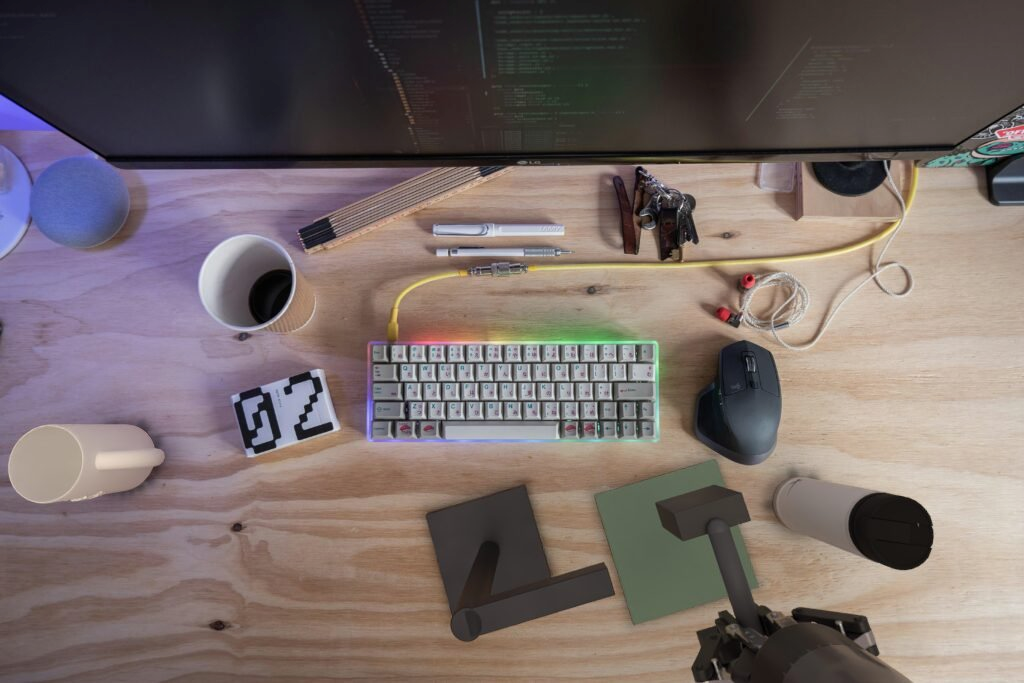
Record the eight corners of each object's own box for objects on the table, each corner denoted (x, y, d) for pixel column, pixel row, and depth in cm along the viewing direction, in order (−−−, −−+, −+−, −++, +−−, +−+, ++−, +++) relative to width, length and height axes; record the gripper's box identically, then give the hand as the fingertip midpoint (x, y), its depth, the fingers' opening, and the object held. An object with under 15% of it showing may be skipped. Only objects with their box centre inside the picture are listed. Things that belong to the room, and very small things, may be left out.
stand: (595, 573, 70) (637, 665, 43) (454, 615, 69) (408, 734, 43) (565, 472, 71) (587, 500, 45) (427, 512, 71) (366, 565, 44)
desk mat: (758, 586, 69) (759, 587, 68) (633, 624, 69) (633, 625, 68) (715, 459, 71) (716, 459, 71) (594, 495, 71) (594, 495, 70)
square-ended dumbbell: (766, 638, 55) (810, 676, 47) (704, 658, 55) (737, 699, 46) (714, 484, 57) (748, 494, 49) (654, 502, 57) (677, 515, 48)
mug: (187, 490, 72) (120, 503, 60) (89, 494, 72) (3, 507, 61) (189, 421, 73) (124, 421, 61) (93, 425, 74) (10, 425, 62)
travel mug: (771, 472, 71) (866, 490, 51) (828, 480, 70) (945, 501, 51) (767, 526, 70) (861, 566, 50) (824, 535, 69) (942, 578, 50)
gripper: (752, 823, 33) (675, 687, 50) (988, 751, 33) (831, 639, 50) (707, 684, 34) (647, 597, 51) (937, 614, 34) (800, 550, 51)
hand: (739, 618), depth 51 cm, fingers closed on square-ended dumbbell
